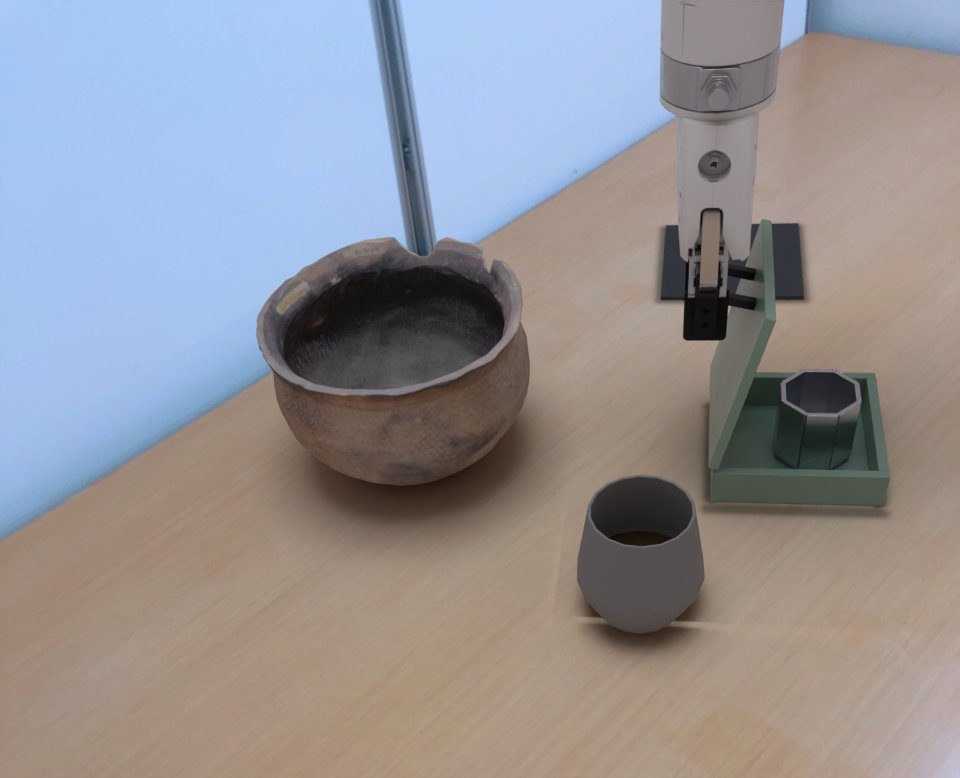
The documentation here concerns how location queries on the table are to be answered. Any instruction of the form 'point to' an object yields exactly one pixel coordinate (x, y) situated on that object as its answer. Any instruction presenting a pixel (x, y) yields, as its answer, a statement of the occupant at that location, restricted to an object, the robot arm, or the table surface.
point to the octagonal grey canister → (816, 419)
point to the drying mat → (740, 263)
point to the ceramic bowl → (398, 358)
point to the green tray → (767, 479)
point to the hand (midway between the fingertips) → (704, 314)
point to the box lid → (741, 340)
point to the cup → (640, 553)
